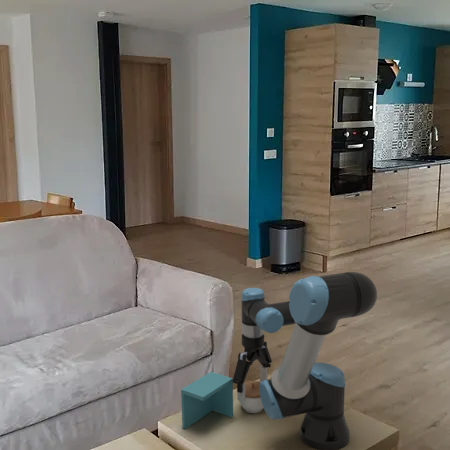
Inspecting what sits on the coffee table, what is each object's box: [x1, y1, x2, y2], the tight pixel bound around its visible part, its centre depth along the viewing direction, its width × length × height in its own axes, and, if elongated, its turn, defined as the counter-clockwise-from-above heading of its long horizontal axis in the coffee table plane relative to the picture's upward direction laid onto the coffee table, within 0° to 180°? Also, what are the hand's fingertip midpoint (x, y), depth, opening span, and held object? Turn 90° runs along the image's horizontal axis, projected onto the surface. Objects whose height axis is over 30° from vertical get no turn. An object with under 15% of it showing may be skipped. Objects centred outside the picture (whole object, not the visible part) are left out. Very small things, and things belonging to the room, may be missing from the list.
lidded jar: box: [238, 380, 264, 414], centre depth 203 cm, size 11×11×9 cm
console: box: [180, 371, 234, 430], centre depth 194 cm, size 9×16×14 cm, turn 144°
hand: (252, 392), depth 203 cm, fingers open, 13 cm apart
